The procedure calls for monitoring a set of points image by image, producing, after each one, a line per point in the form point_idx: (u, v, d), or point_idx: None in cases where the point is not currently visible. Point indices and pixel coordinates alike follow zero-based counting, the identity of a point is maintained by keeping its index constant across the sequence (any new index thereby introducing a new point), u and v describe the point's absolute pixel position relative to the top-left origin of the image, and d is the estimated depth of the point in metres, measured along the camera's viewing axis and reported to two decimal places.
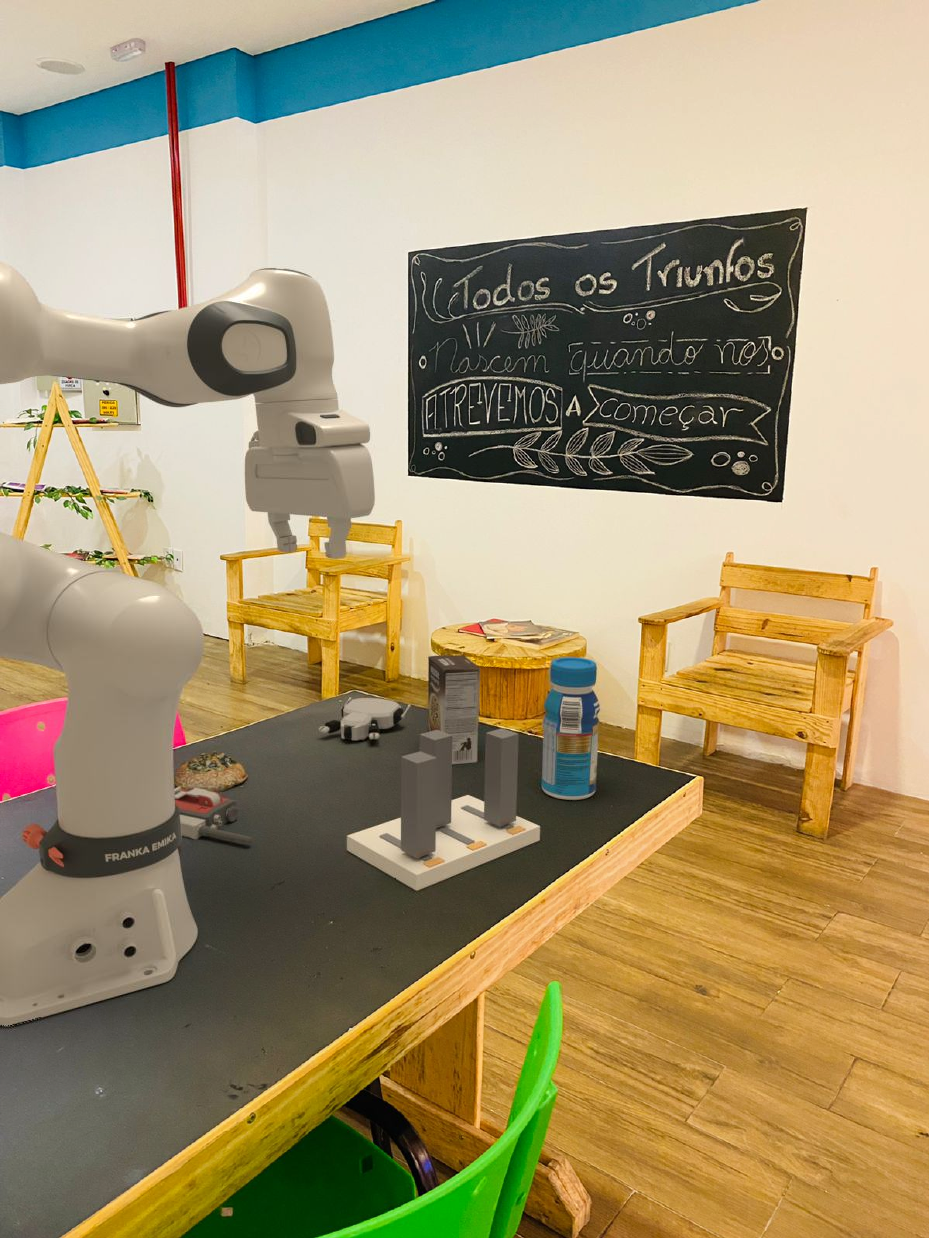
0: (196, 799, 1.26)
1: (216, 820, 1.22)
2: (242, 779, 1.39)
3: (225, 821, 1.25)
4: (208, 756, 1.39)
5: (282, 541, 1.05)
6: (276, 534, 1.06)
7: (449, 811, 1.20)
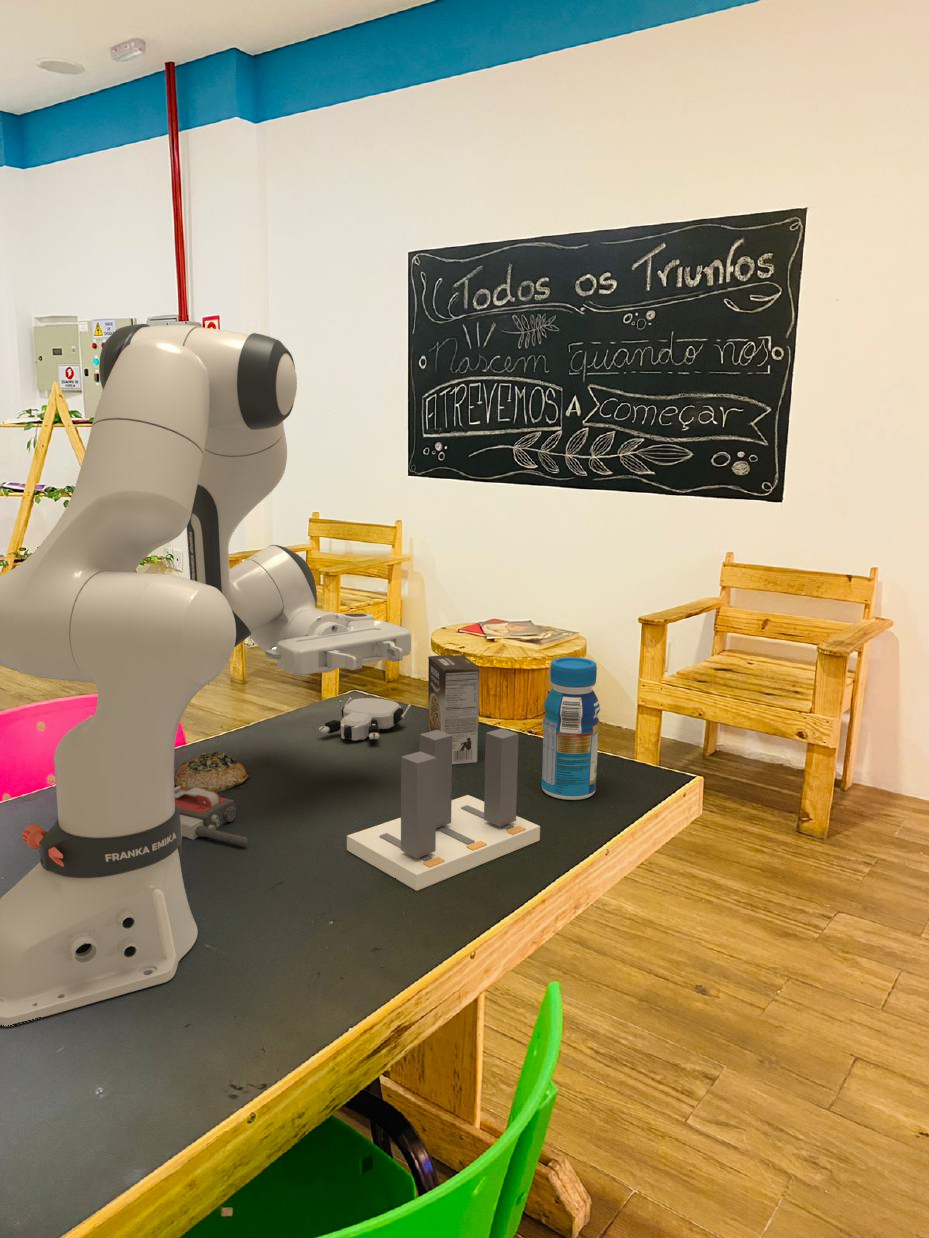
0: (195, 799, 1.26)
1: (214, 820, 1.22)
2: (243, 779, 1.39)
3: (223, 821, 1.25)
4: (209, 756, 1.39)
5: (354, 655, 1.24)
6: (345, 654, 1.24)
7: (449, 811, 1.20)
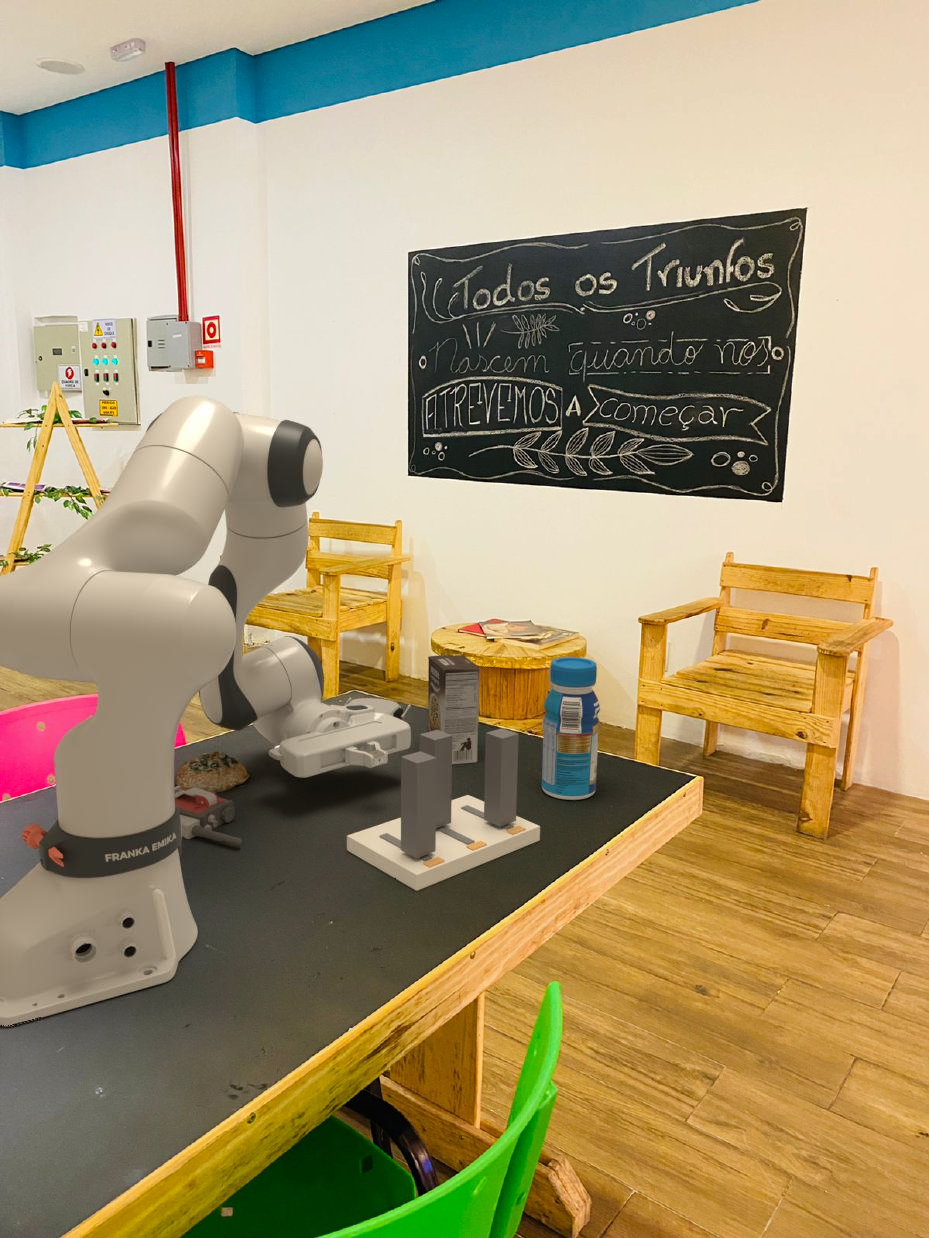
0: (194, 798, 1.26)
1: (210, 820, 1.22)
2: (244, 779, 1.39)
3: (221, 821, 1.25)
4: (210, 756, 1.39)
5: (371, 752, 1.29)
6: (362, 752, 1.29)
7: (449, 811, 1.20)
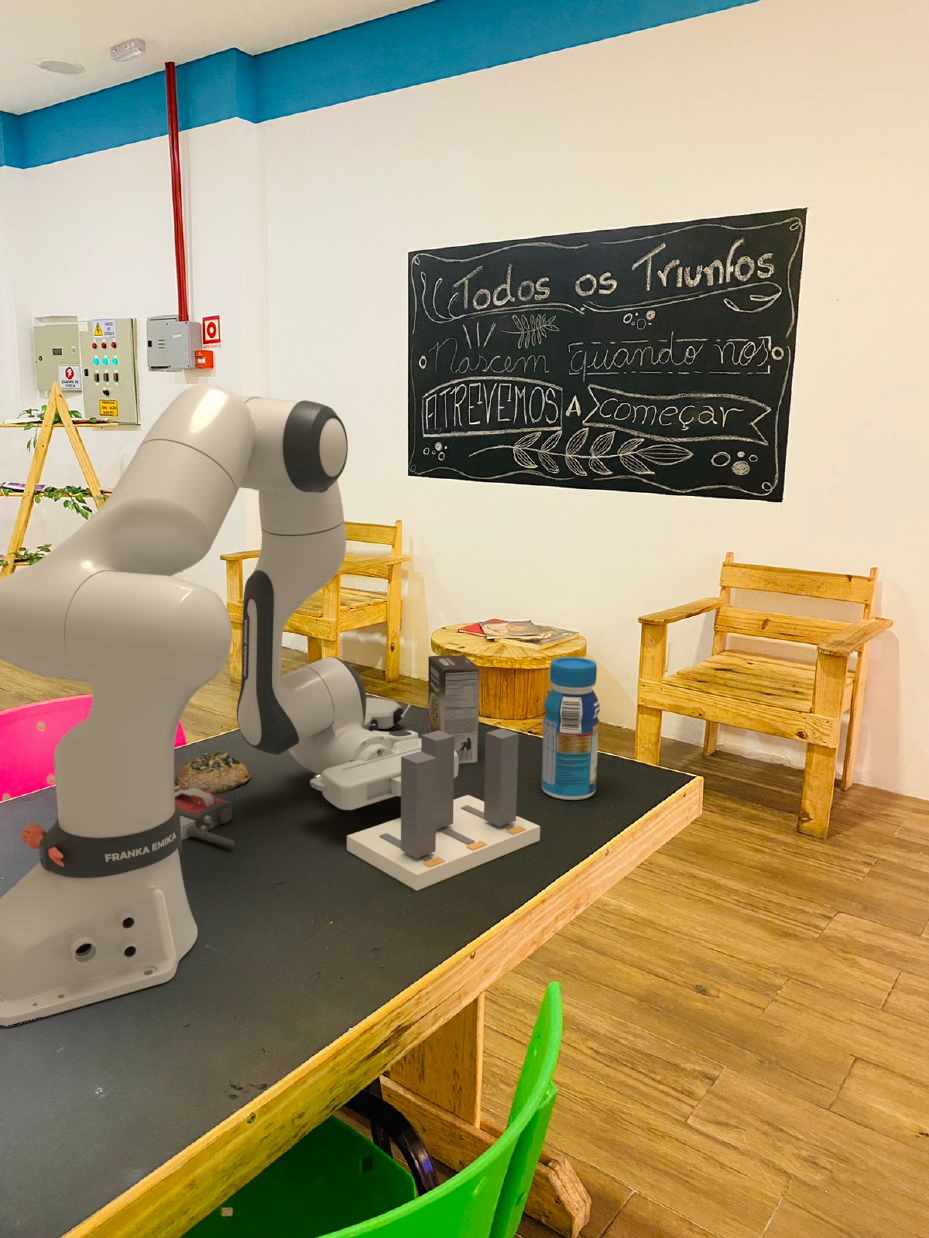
0: (192, 799, 1.26)
1: (206, 821, 1.22)
2: (245, 779, 1.39)
3: (218, 822, 1.24)
4: (211, 756, 1.39)
5: None
6: None
7: (451, 812, 1.20)
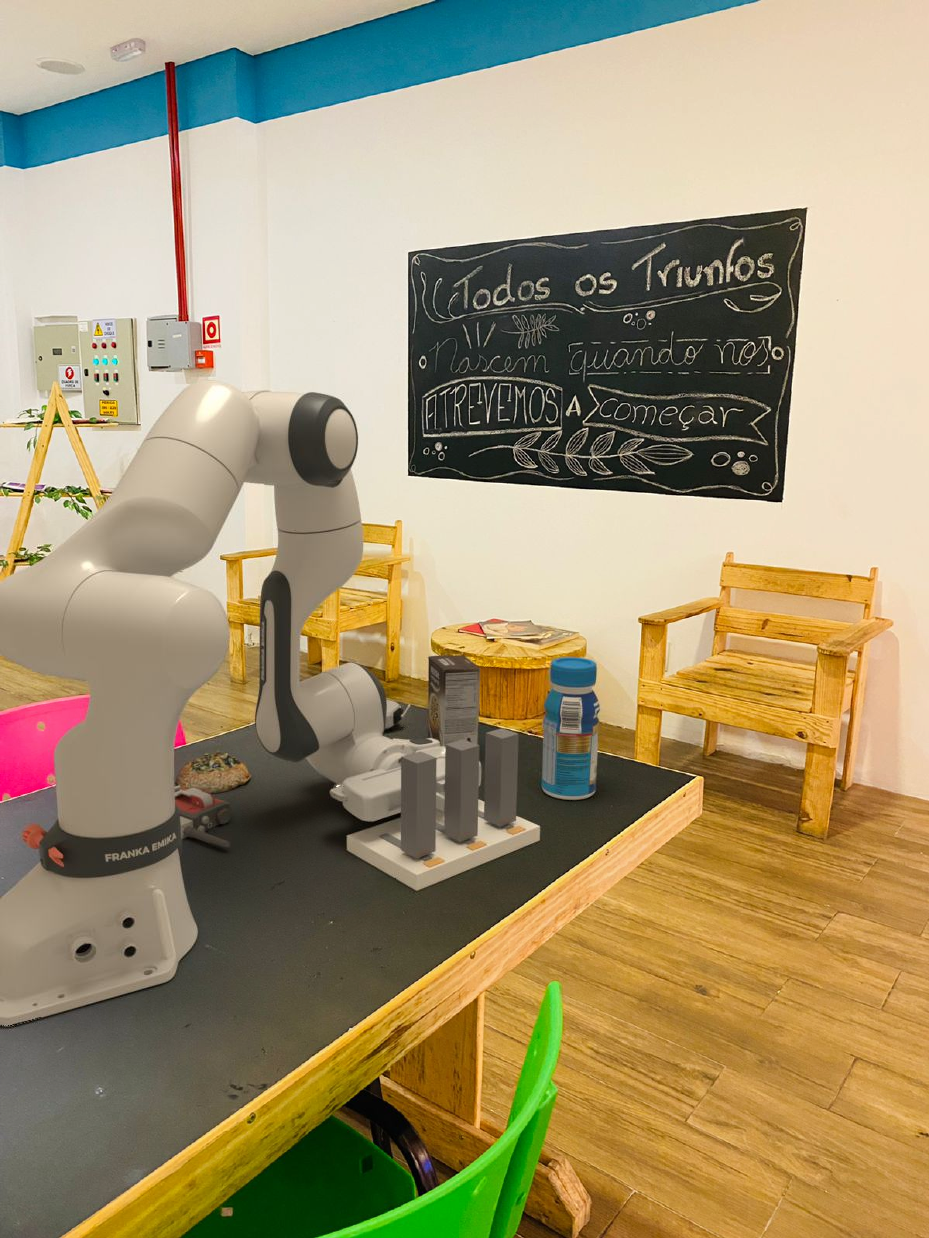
0: (192, 799, 1.26)
1: (204, 821, 1.22)
2: (246, 779, 1.39)
3: (216, 823, 1.24)
4: (212, 756, 1.39)
5: (444, 793, 1.18)
6: None
7: (475, 823, 1.16)
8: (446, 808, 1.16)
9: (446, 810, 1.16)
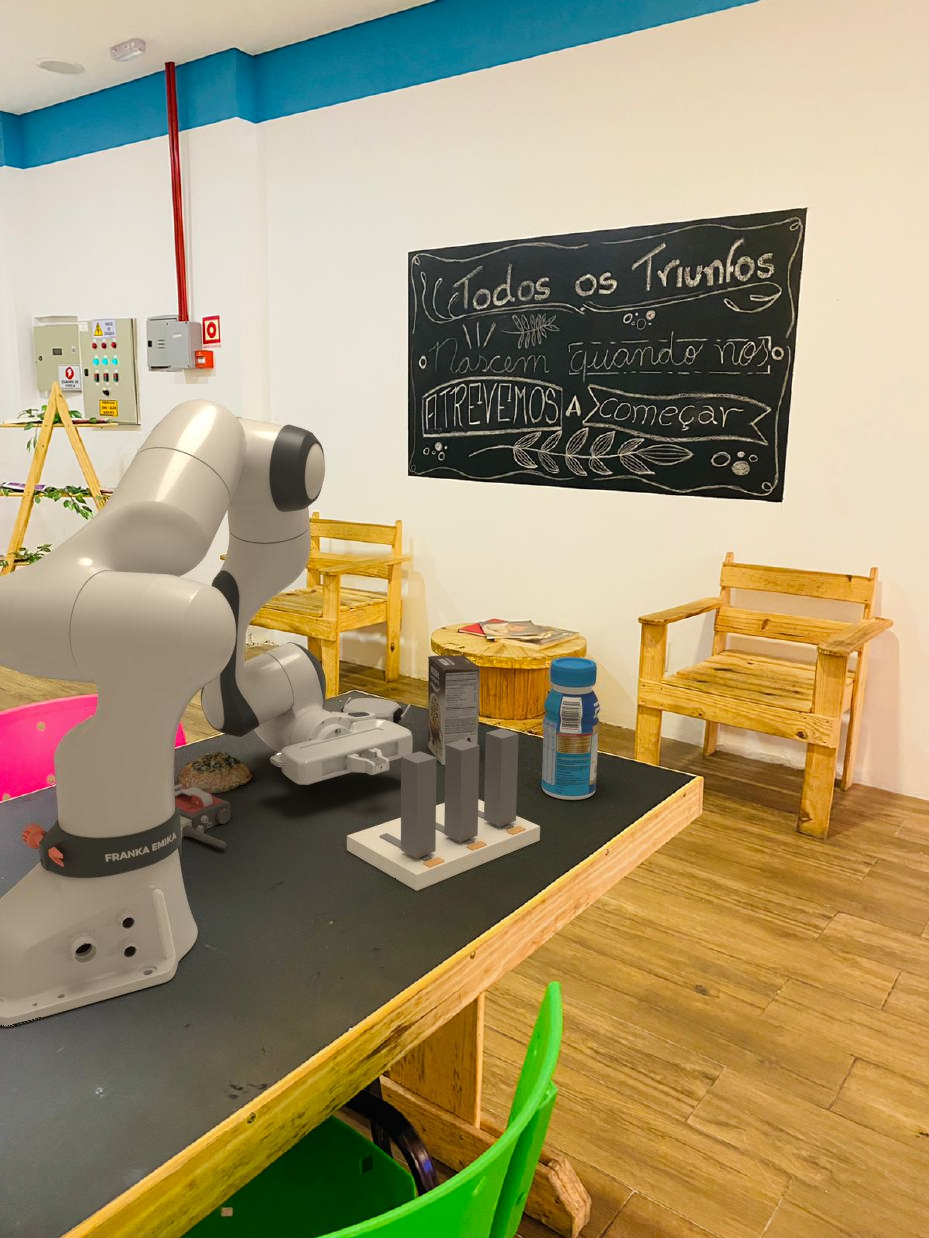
0: None
1: (203, 821, 1.22)
2: (247, 779, 1.39)
3: (216, 823, 1.24)
4: (212, 756, 1.39)
5: (373, 759, 1.29)
6: (364, 759, 1.29)
7: (475, 823, 1.16)
8: (446, 808, 1.16)
9: (446, 810, 1.16)
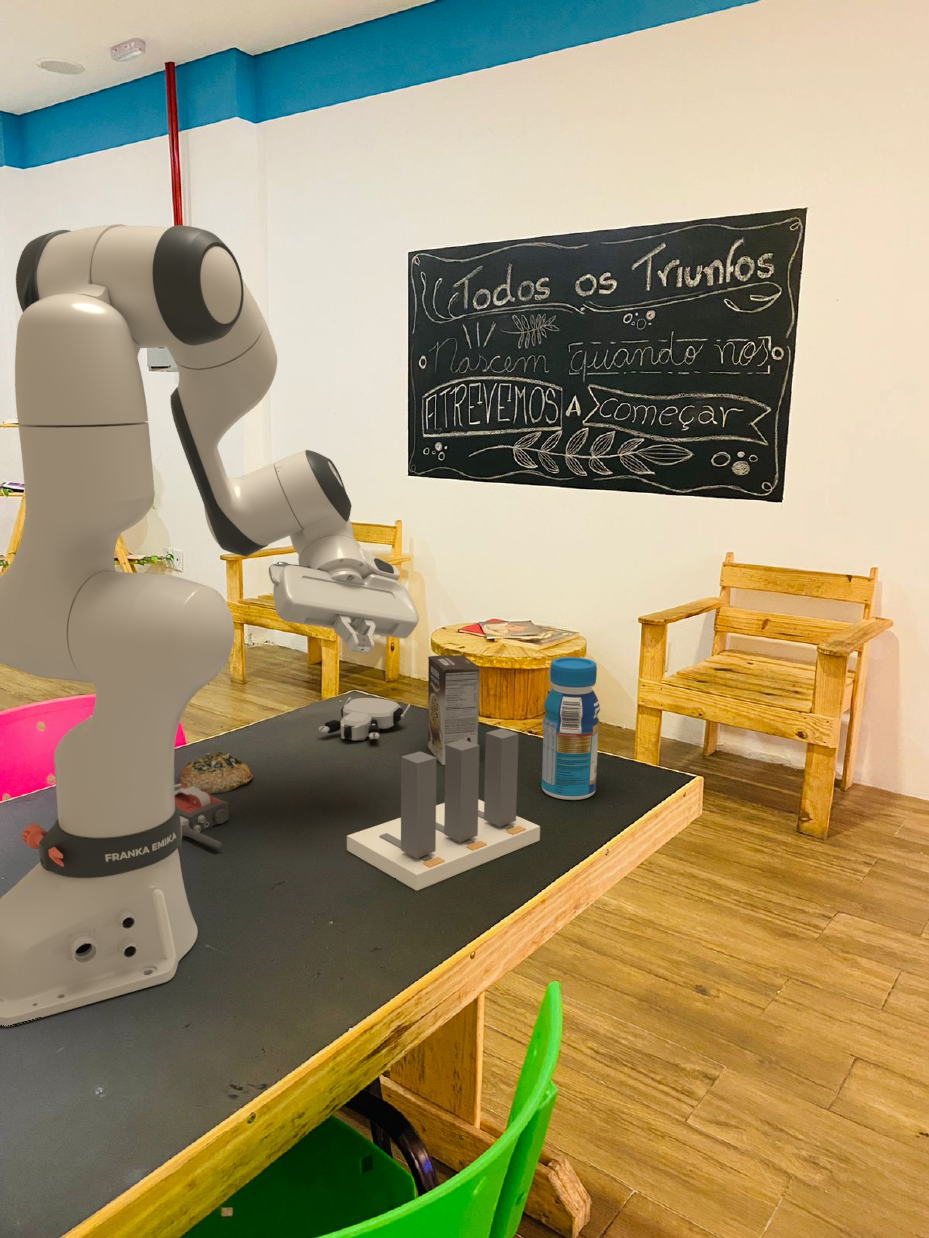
0: None
1: (200, 821, 1.22)
2: (248, 779, 1.39)
3: (213, 823, 1.24)
4: (213, 756, 1.39)
5: (360, 637, 1.18)
6: (352, 631, 1.17)
7: (475, 823, 1.16)
8: (446, 808, 1.16)
9: (446, 810, 1.16)
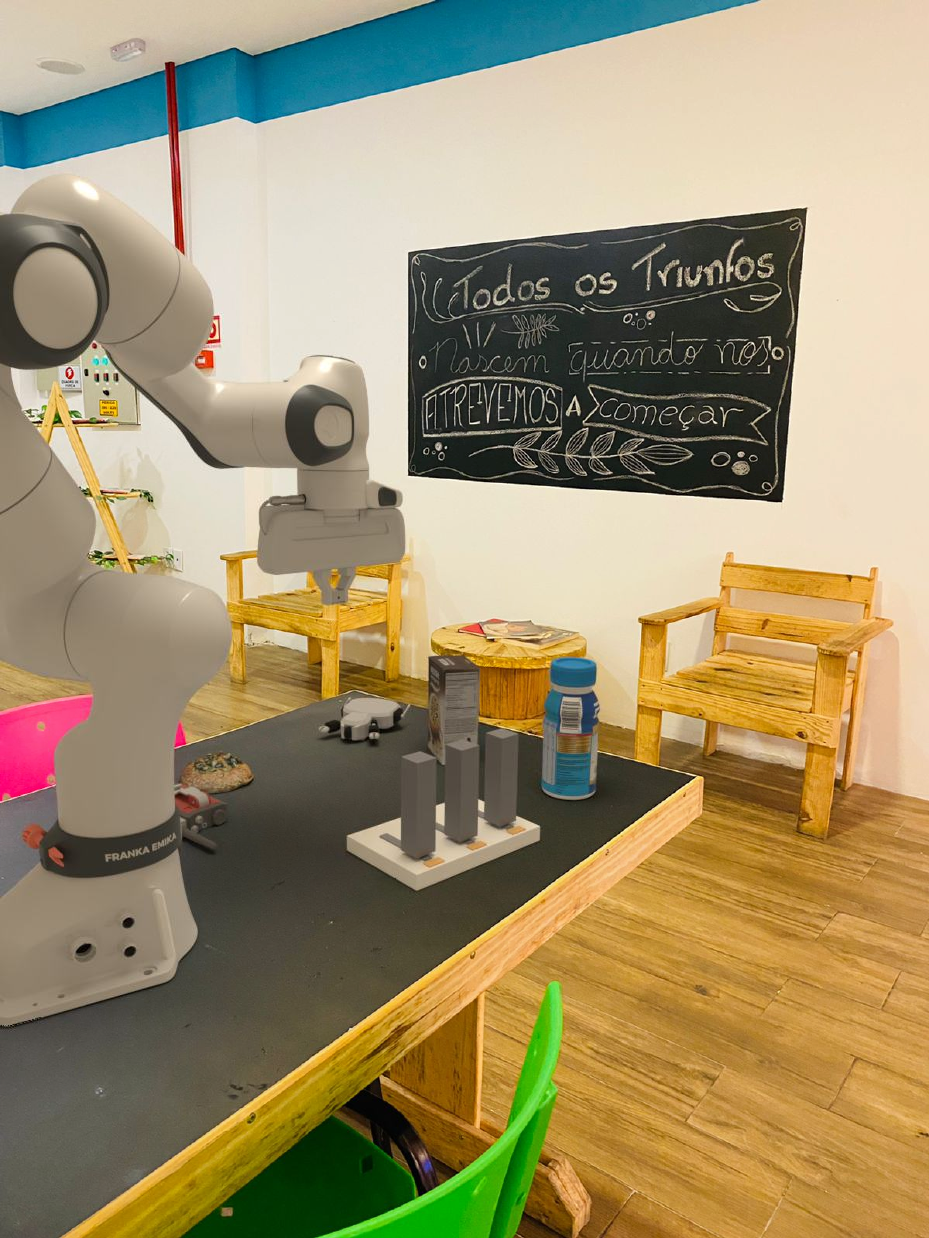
0: None
1: (198, 821, 1.22)
2: (248, 779, 1.39)
3: (211, 823, 1.24)
4: (214, 756, 1.39)
5: (336, 594, 1.15)
6: (330, 589, 1.14)
7: (475, 823, 1.16)
8: (446, 808, 1.16)
9: (446, 810, 1.16)
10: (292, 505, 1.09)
